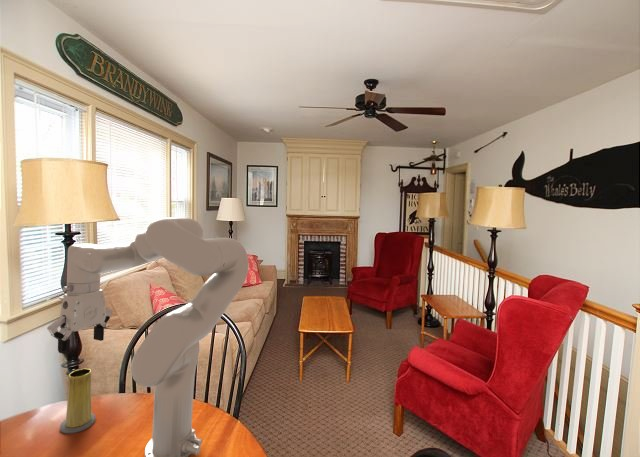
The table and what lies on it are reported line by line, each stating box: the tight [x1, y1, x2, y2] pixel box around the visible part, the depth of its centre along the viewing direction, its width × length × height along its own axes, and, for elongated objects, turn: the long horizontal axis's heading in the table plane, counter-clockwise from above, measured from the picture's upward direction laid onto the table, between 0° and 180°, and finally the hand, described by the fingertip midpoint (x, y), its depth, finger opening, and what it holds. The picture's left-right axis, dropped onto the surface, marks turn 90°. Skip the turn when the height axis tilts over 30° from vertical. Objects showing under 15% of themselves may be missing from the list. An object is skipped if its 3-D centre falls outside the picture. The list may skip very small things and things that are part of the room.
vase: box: [65, 368, 92, 428], centre depth 88 cm, size 6×6×14 cm
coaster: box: [59, 412, 96, 435], centre depth 89 cm, size 8×8×1 cm
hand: (82, 346), depth 88 cm, fingers open, 9 cm apart
